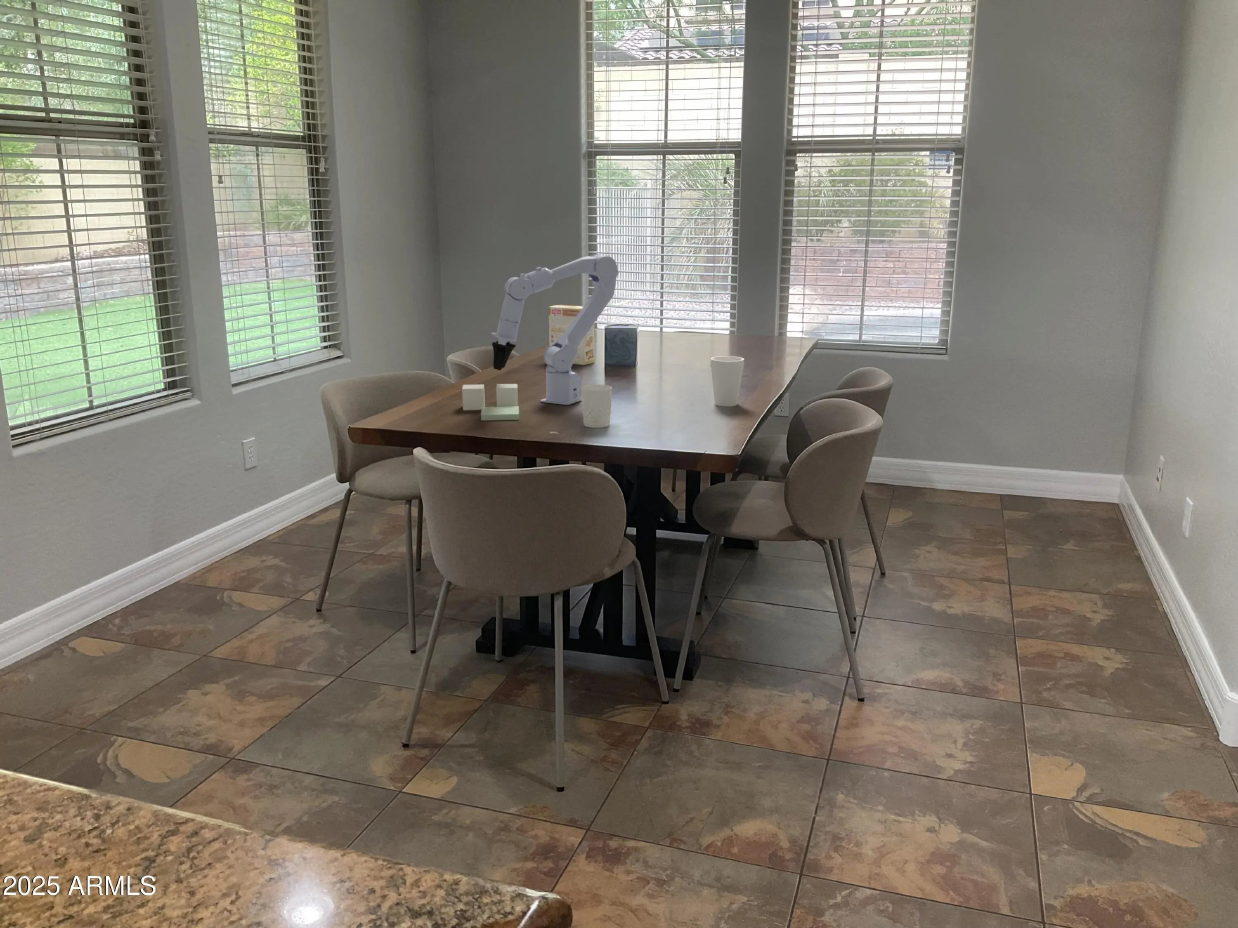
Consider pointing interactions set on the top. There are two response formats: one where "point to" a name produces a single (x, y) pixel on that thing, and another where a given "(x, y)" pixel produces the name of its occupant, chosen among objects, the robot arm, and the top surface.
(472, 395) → the cover
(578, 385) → the robot arm
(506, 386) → the cream matte cube
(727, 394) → the foam cup
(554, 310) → the coffeecake box
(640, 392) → the top surface
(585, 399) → the white cup
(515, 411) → the coaster
